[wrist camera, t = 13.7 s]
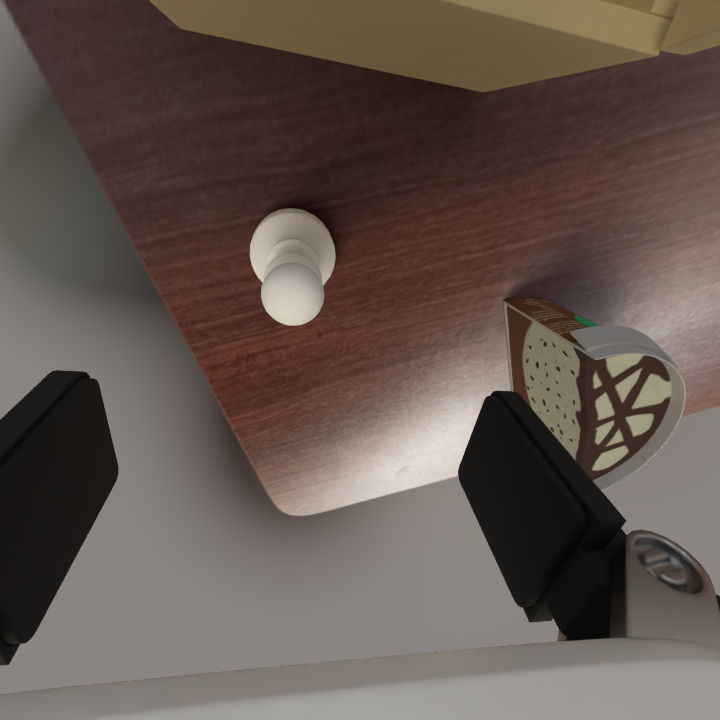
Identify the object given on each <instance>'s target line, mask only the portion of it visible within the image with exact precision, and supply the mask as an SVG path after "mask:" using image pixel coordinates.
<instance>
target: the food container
mask: <svg viewBox="0 0 720 720" xmlns="http://www.w3.org/2000/svg"><path fill="white" fill-rule="evenodd" d="M503 307H504V319H505V330H506V342H507V353H508V365H509V377H510V388H511V391H513V392H518V393H519V394H520V395H521V396H522V398H523V399H524V400H525V401H526V402H527V403H528V405H529V406H530V407H531V408H532V409H533V411H534V412H535V413H536V414H537V415H538V417H539V418H540V419H541V420H542V421H543V422H544V424H545V425H546V426H547V427H548V428H549V430H550V431H551V432H552V433H553V434H554V436H555V437H556V438H557V439H558V440H559V441H560V443H561V444H562V445H563V446H564V447H565V449H566V450H567V451H568V452H569V453H570V455H571V456H572V457H573V458H574V459H575V460H576V462H577V463H578V464H579V465H580V466H581V468H582V469H583V470H584V471H585V472H586V474H587V475H588V476H589V477H590V478H591V479H592V481H593V482H594V483H595V484H596V485H597V487H598V488H599V489H600V490H601V491H604V490H606V489H608V488H610V487H612V486H614V485H616V484H617V483H619V482H621V481H623V480H625V479H626V478H628V477H629V476H630V475H632V474H633V473H635V472H636V471H638V470H639V469H640V468H641V467H643V466H644V465H645V464H646V463H648V462H649V461H650V460H651V459H652V458H653V457H654V456H655V455H656V454H657V453H658V452H659V451H660V450H661V448H662V447H663V446H664V445H665V444H666V443H667V441H668V440H669V438H670V437H671V435H672V434H673V432H674V431H675V429H676V427H677V425H678V423H679V421H680V419H681V417H682V414H683V411H684V408H685V401H686V388H685V383H684V381H683V378H682V376H681V374H680V373H679V371H678V369H677V366H676V365H675V364H674V362H673V361H672V359H671V358H670V357H669V356H668V355H667V354H666V353H665V352H664V351H663V350H662V349H661V348H660V347H659V346H658V345H657V344H656V343H655V342H654V341H653V340H651V339H650V338H649V337H648V336H646V335H645V334H643V333H641V332H639V331H636V330H634V329H631V328H626V327H621V326H599V325H597V324H595V323H593V322H591V321H588V320H586V319H584V318H582V317H580V316H578V315H576V314H574V313H572V312H570V311H568V310H566V309H564V308H562V307H560V306H558V305H556V304H554V303H552V302H549V301H547V300H545V299H542V298H538V297H533V296H521V297H513V298H509V299H506V300H503Z"/></svg>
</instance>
